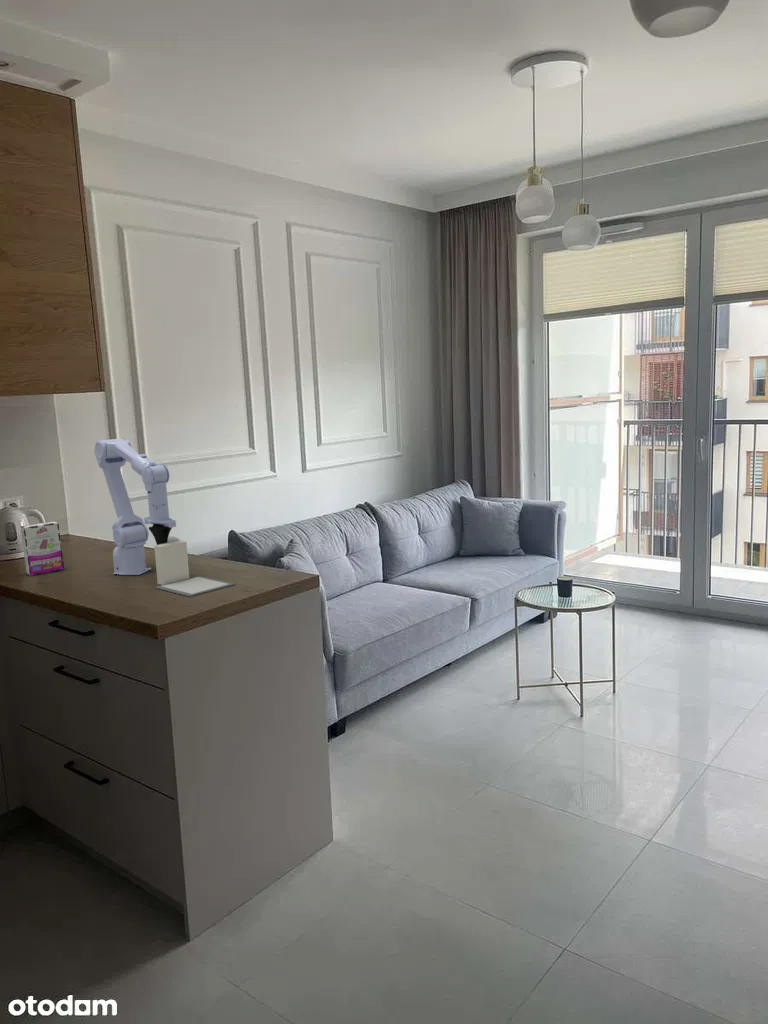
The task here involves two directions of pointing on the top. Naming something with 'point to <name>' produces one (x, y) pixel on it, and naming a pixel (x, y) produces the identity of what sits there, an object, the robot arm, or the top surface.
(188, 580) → the mat
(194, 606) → the top surface
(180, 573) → the card box
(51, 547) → the candy bar box
